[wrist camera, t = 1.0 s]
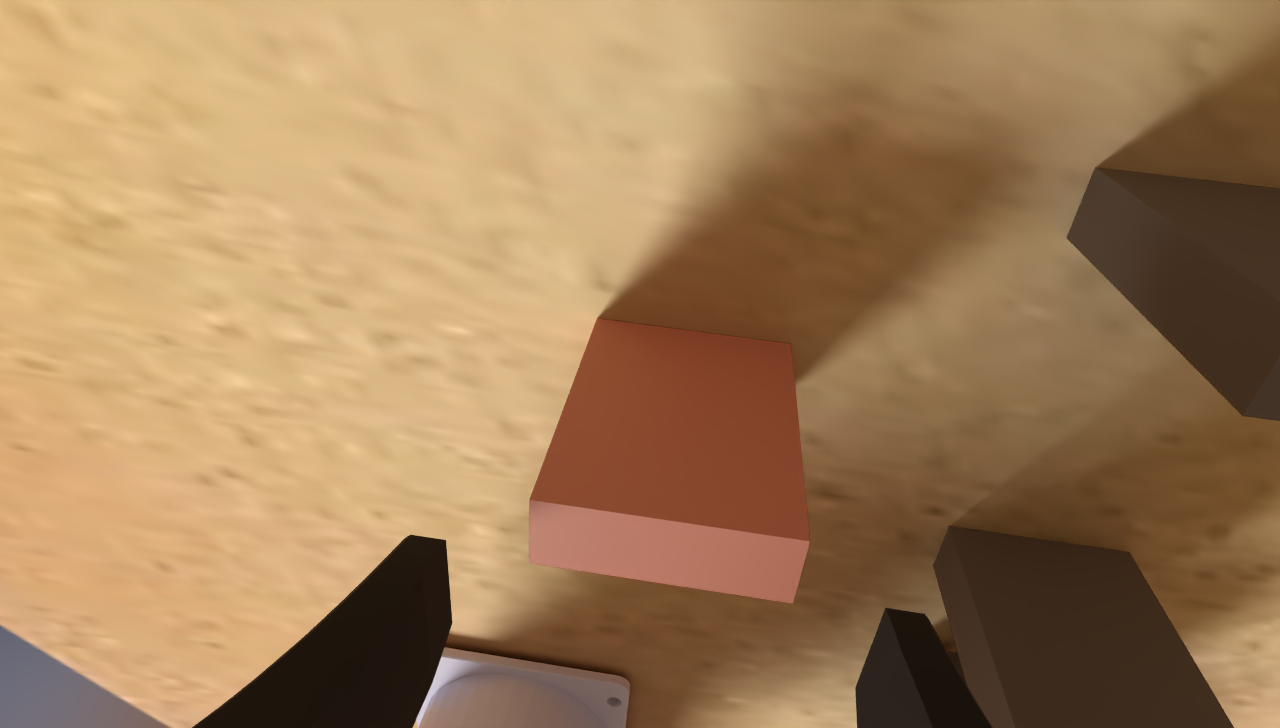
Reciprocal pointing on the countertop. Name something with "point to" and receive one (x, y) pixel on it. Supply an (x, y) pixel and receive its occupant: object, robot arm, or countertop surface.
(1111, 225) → the domino
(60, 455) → the countertop surface
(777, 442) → the domino
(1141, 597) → the domino
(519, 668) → the robot arm
